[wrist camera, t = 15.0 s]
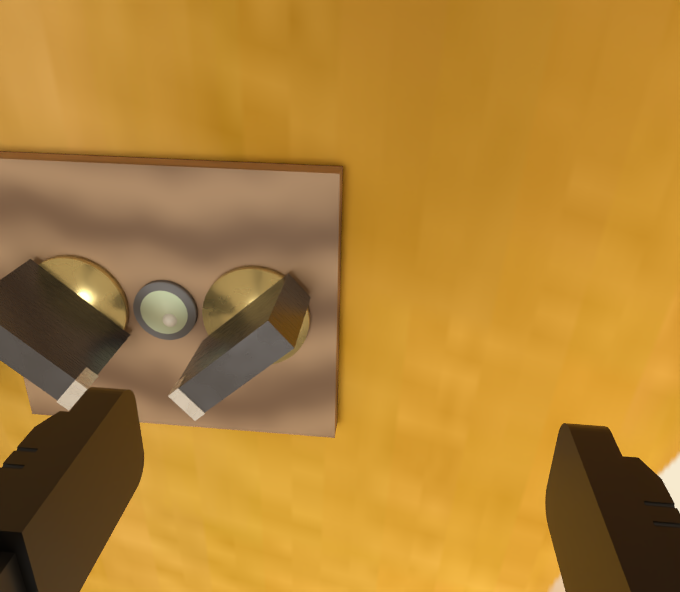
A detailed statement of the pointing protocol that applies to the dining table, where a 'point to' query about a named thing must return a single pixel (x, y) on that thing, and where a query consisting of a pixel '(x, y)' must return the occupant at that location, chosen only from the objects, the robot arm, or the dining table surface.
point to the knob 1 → (61, 323)
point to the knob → (242, 334)
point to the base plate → (188, 268)
